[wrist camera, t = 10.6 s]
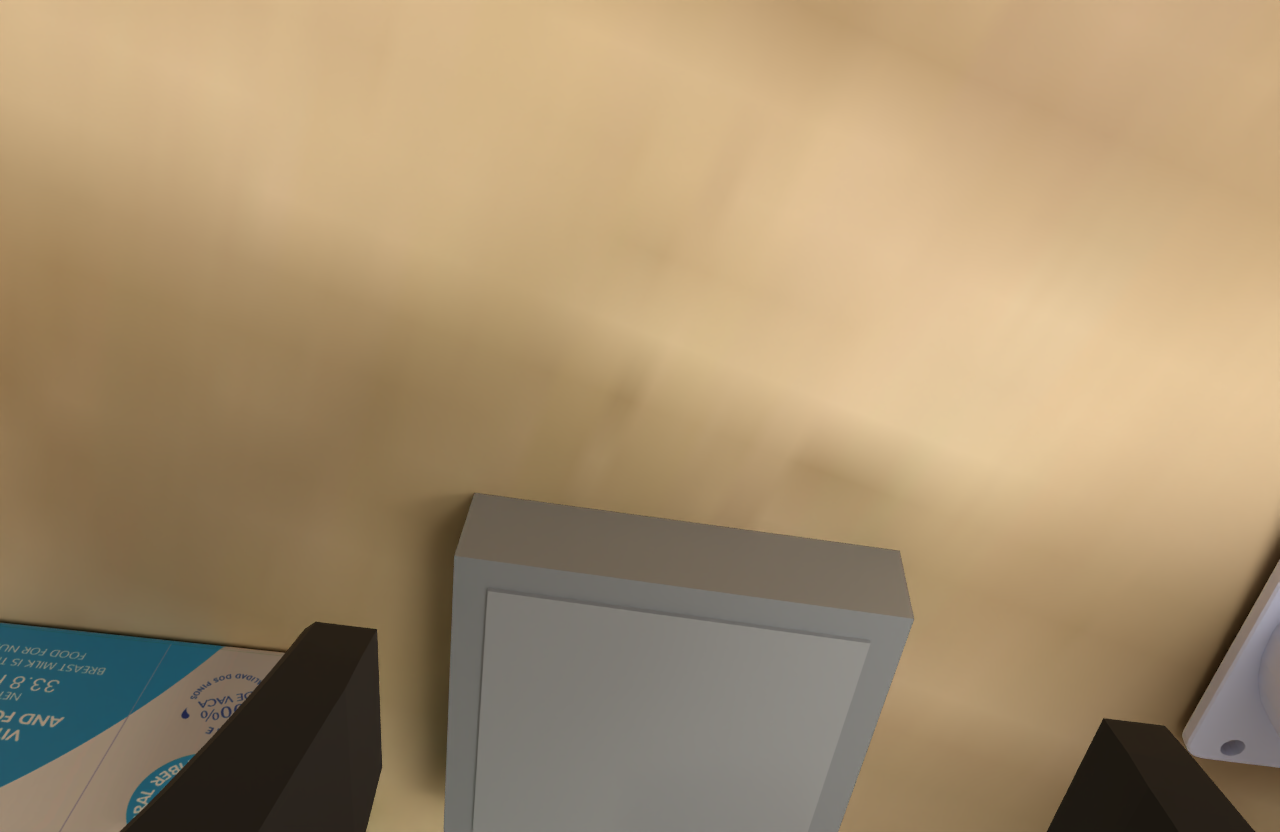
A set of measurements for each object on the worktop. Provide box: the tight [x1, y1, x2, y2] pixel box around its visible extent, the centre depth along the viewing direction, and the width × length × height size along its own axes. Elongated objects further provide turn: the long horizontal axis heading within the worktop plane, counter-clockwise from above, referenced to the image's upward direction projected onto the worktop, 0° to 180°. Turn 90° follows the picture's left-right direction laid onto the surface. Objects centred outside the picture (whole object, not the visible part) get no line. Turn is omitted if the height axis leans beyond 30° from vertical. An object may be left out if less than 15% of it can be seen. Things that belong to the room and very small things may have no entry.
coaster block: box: [444, 493, 914, 832], centre depth 24 cm, size 9×9×3 cm
